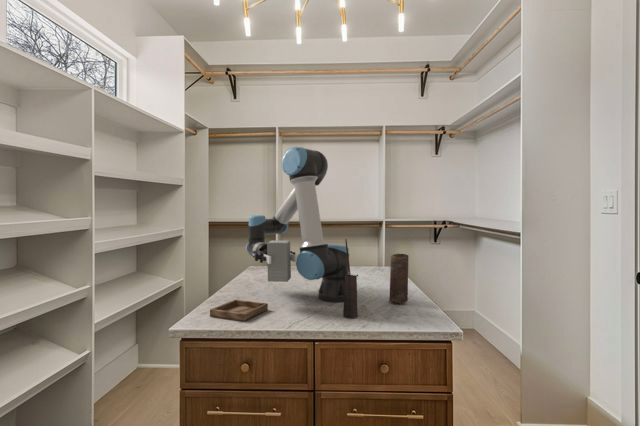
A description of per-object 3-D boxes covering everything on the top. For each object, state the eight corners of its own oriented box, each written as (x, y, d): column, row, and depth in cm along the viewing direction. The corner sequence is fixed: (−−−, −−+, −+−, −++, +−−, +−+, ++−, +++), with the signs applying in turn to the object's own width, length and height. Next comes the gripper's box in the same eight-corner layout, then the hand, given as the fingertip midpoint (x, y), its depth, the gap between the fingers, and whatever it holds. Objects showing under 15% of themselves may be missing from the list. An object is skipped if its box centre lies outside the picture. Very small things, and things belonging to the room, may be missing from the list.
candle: (411, 303, 144) (411, 254, 143) (402, 306, 138) (402, 256, 138) (395, 299, 149) (395, 252, 149) (385, 303, 144) (386, 254, 143)
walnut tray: (267, 310, 134) (267, 303, 134) (244, 321, 120) (244, 314, 120) (235, 305, 140) (235, 299, 139) (209, 316, 126) (209, 309, 126)
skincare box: (291, 279, 142) (291, 240, 141) (287, 283, 135) (288, 242, 134) (270, 278, 143) (271, 239, 142) (265, 281, 136) (266, 241, 135)
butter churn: (369, 314, 129) (369, 238, 128) (361, 321, 120) (361, 240, 119) (345, 311, 132) (346, 237, 132) (336, 318, 124) (336, 239, 123)
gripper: (287, 258, 160) (309, 267, 140) (238, 261, 149) (254, 271, 129) (287, 242, 159) (309, 248, 140) (238, 244, 148) (255, 251, 129)
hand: (283, 259), depth 135 cm, fingers closed on skincare box, 10 cm apart
